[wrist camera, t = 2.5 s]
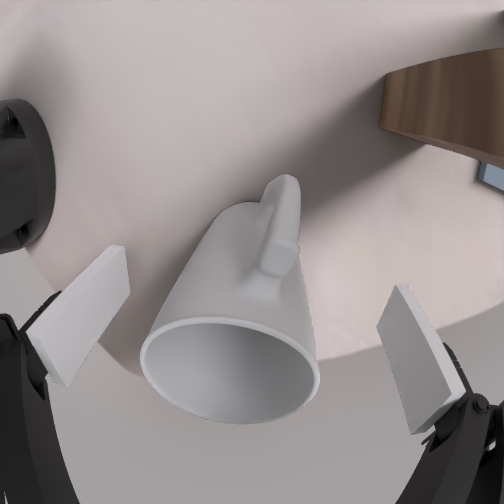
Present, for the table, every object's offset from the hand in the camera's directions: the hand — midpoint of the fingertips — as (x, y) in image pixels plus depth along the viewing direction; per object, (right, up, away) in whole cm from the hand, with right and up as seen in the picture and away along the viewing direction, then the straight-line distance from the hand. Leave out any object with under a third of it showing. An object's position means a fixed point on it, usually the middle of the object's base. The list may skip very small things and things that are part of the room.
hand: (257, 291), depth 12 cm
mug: (0, +4, +7) cm, 8 cm away
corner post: (+10, +11, +2) cm, 15 cm away
